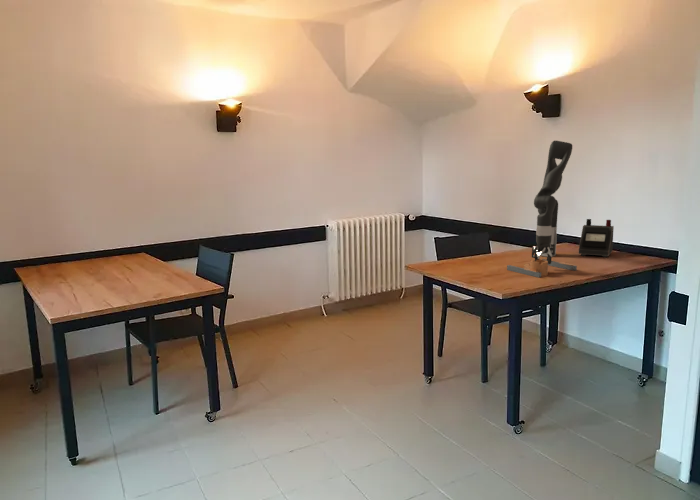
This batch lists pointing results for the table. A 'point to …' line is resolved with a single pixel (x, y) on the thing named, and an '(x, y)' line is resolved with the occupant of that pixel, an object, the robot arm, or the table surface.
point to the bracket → (538, 266)
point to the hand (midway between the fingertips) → (543, 264)
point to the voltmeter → (596, 239)
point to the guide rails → (538, 274)
